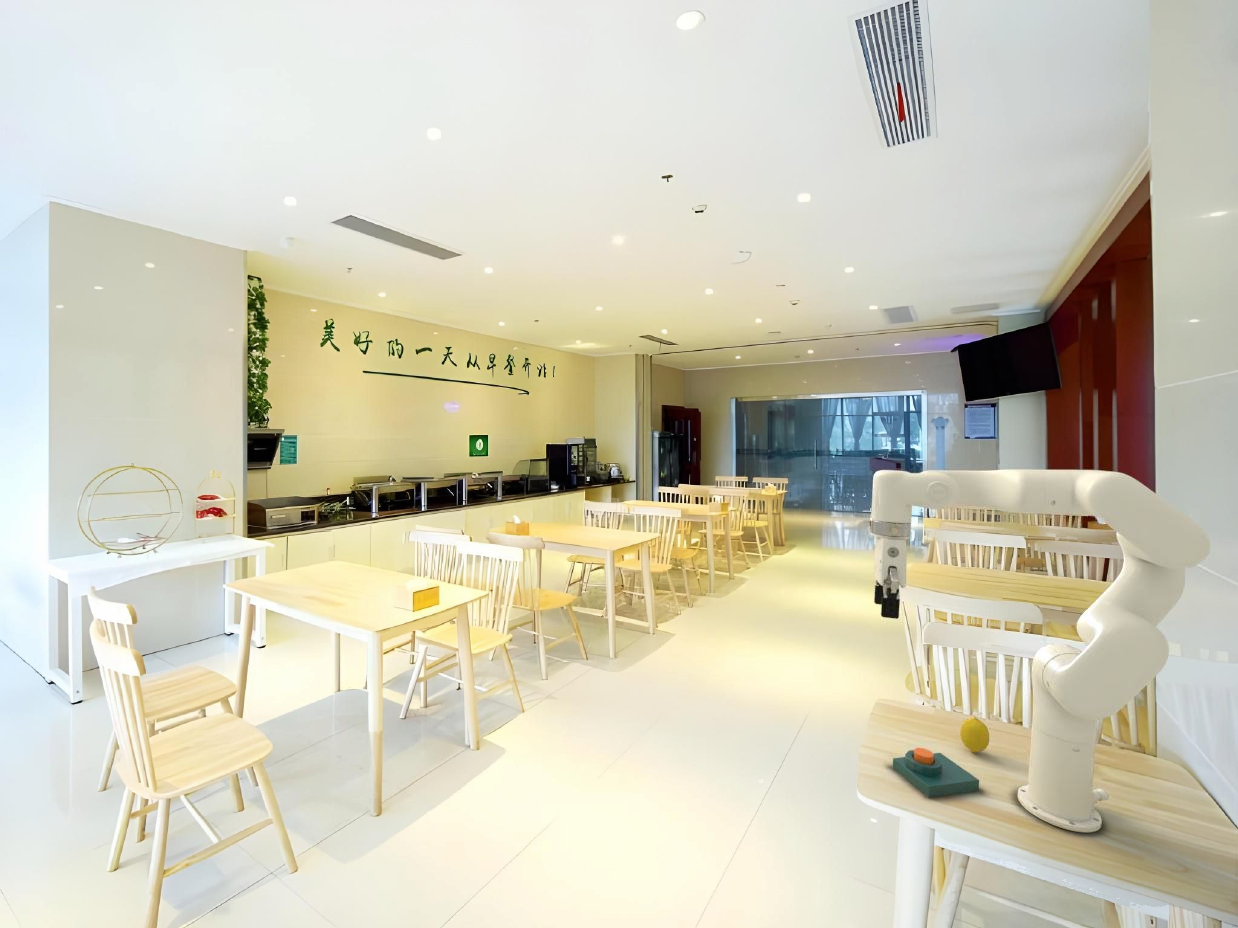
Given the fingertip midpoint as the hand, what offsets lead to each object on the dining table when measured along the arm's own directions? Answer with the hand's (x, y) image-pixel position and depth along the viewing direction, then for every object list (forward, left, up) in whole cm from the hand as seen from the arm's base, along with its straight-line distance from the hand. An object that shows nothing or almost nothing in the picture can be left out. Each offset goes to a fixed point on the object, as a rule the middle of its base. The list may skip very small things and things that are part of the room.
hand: (885, 610), depth 116 cm
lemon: (-27, -2, -34) cm, 44 cm away
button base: (-10, +5, -34) cm, 36 cm away
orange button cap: (-8, +4, -31) cm, 32 cm away
